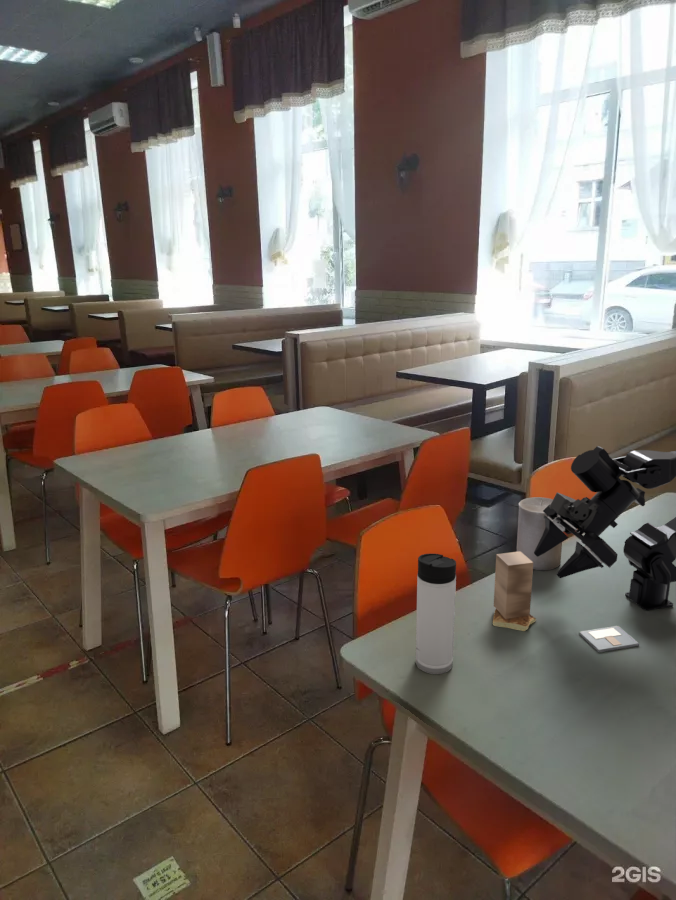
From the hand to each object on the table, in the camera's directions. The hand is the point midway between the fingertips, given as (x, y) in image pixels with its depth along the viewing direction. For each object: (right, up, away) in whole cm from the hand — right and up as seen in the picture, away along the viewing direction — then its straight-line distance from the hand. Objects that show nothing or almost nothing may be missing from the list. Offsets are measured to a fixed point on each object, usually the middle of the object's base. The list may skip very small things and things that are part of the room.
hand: (546, 565), depth 126 cm
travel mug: (-23, -15, -13) cm, 30 cm away
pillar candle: (+6, -3, +24) cm, 25 cm away
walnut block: (-6, -9, +2) cm, 11 cm away
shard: (-7, -11, +2) cm, 13 cm away
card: (+9, -12, -6) cm, 17 cm away
